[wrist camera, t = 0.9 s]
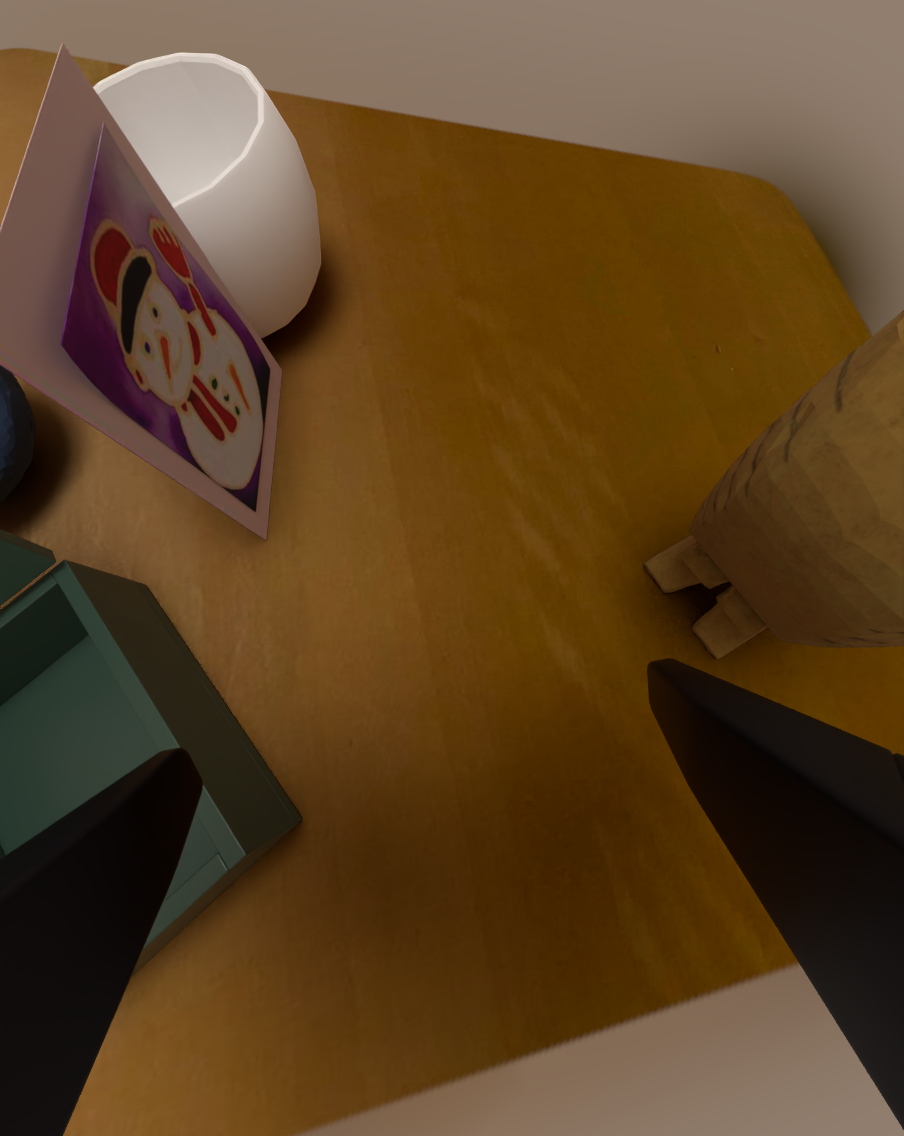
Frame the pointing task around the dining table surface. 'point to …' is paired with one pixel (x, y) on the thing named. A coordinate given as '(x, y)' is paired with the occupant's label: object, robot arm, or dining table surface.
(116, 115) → the cup
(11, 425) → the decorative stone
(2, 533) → the box lid
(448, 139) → the dining table surface
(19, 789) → the green open box
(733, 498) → the figurine
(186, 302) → the greeting card
